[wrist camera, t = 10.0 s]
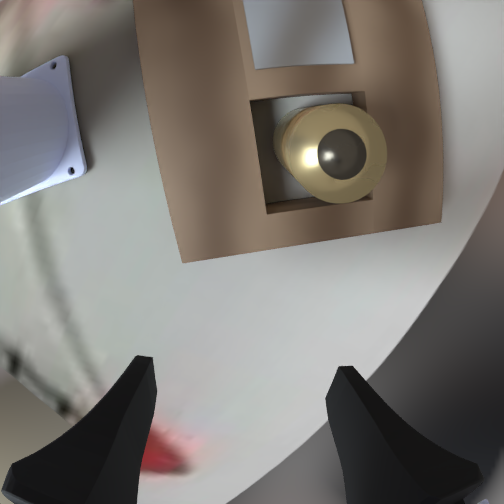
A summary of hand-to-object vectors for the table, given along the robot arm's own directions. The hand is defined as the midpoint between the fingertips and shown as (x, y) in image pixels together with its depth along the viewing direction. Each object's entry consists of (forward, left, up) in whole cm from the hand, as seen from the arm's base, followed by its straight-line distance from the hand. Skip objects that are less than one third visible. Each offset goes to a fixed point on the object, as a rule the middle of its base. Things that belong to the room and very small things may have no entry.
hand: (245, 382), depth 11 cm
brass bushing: (+5, +7, -9) cm, 13 cm away
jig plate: (+5, +10, -9) cm, 15 cm away
